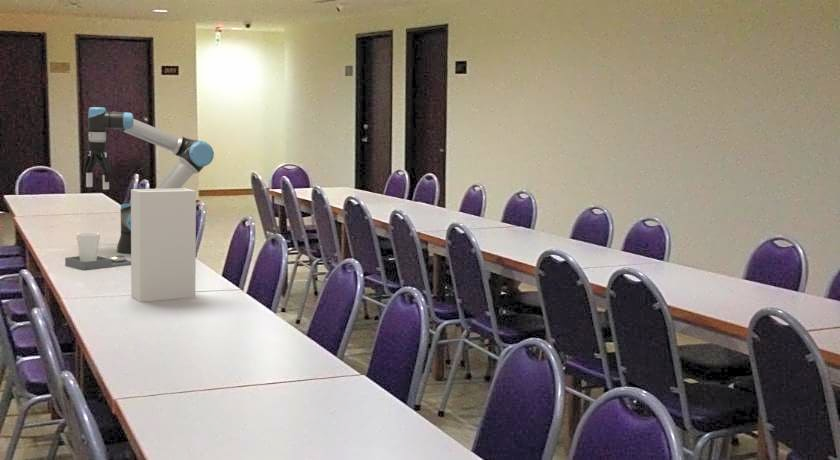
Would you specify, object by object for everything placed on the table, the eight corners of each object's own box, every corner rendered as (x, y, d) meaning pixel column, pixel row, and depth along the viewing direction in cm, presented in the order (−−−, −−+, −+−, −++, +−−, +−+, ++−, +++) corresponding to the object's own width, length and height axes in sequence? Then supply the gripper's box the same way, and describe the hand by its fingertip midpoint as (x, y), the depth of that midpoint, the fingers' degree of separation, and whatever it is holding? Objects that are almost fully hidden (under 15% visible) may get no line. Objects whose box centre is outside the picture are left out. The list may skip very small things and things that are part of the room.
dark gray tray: (116, 259, 433) (116, 252, 432) (135, 264, 423) (135, 256, 423) (65, 265, 414) (65, 257, 413) (84, 270, 404) (83, 262, 404)
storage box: (140, 302, 345) (139, 191, 340) (131, 296, 354) (130, 189, 349) (195, 297, 357) (196, 190, 352) (185, 292, 366) (186, 188, 361)
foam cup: (92, 266, 408) (92, 235, 407) (72, 264, 410) (72, 234, 408) (103, 262, 417) (103, 233, 416) (84, 261, 419) (84, 231, 418)
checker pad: (118, 258, 430) (118, 253, 430) (129, 260, 424) (129, 256, 424) (100, 260, 423) (100, 255, 423) (111, 262, 417) (111, 258, 417)
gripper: (74, 140, 438) (75, 186, 440) (105, 142, 422) (105, 190, 425) (89, 140, 443) (90, 185, 446) (120, 142, 428) (120, 190, 430)
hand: (97, 188), depth 435 cm, fingers open, 13 cm apart
